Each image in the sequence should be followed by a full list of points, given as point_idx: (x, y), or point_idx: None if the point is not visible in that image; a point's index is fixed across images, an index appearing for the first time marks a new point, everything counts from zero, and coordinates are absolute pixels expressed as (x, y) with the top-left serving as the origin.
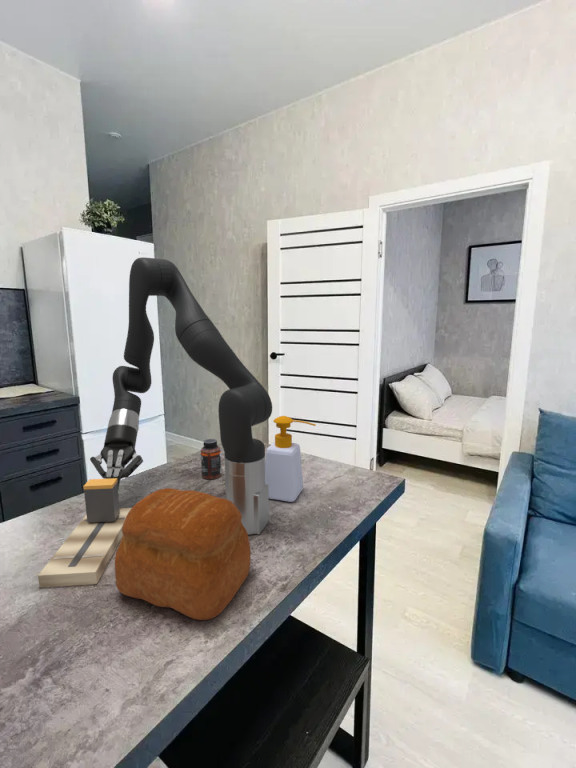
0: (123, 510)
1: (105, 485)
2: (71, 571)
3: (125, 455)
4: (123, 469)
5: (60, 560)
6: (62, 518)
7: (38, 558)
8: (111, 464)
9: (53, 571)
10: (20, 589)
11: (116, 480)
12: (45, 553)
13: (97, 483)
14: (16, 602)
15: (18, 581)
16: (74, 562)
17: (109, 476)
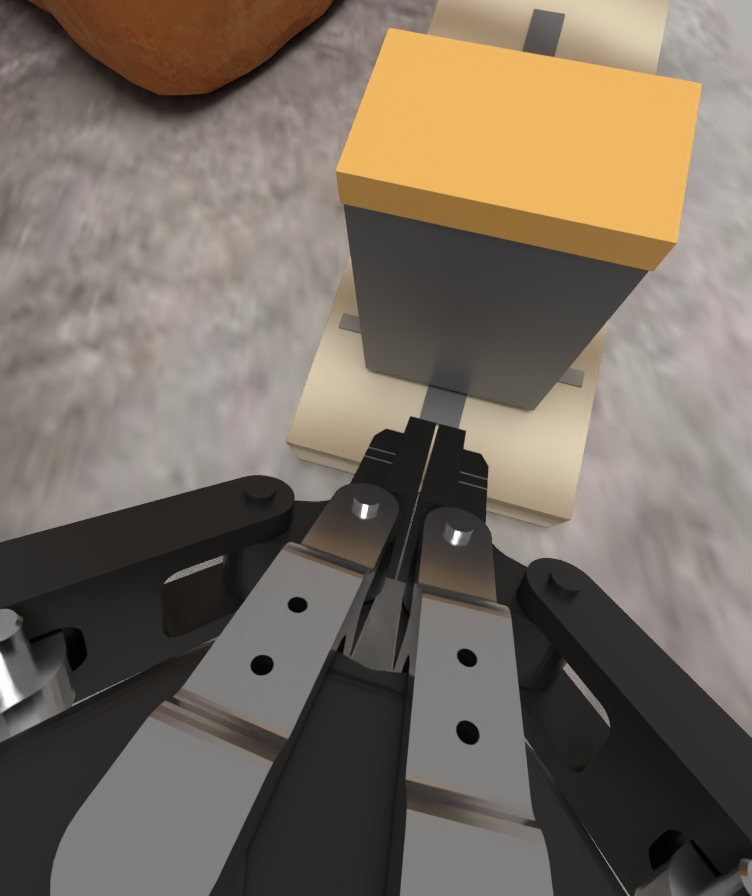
0: (345, 426)
1: (457, 42)
2: None
3: (101, 772)
4: (255, 523)
5: (608, 62)
6: (737, 615)
7: (719, 232)
8: (429, 615)
9: (615, 6)
10: (709, 69)
11: (347, 150)
12: (701, 260)
13: (553, 104)
14: (694, 15)
15: (738, 111)
16: (544, 28)
17: (449, 510)
